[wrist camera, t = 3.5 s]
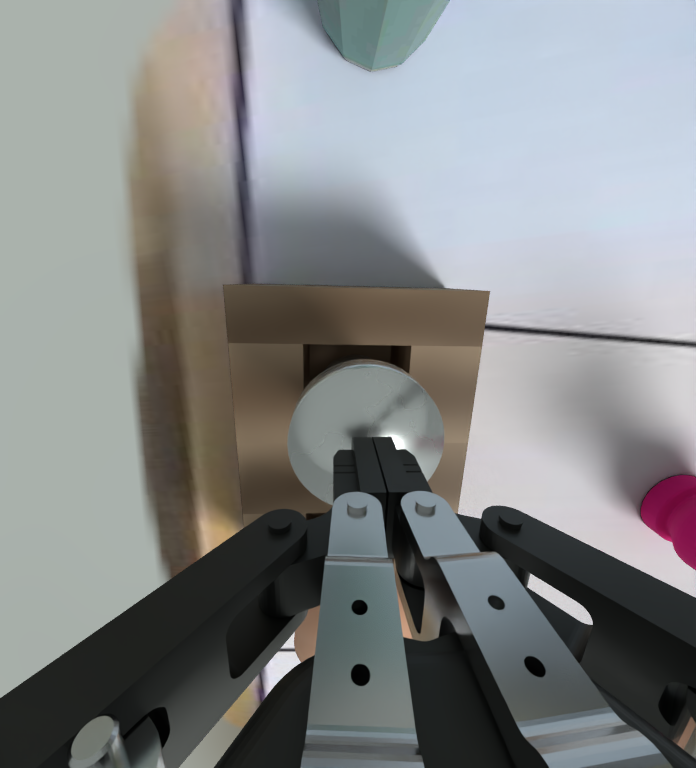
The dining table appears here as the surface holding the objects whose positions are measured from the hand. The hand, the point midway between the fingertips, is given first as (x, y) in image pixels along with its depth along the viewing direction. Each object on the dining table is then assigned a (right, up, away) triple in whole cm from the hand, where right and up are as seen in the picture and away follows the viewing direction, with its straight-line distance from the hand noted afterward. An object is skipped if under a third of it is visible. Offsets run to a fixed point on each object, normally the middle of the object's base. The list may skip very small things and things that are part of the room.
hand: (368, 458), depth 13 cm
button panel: (-1, -1, +15) cm, 15 cm away
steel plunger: (0, +2, +8) cm, 8 cm away
